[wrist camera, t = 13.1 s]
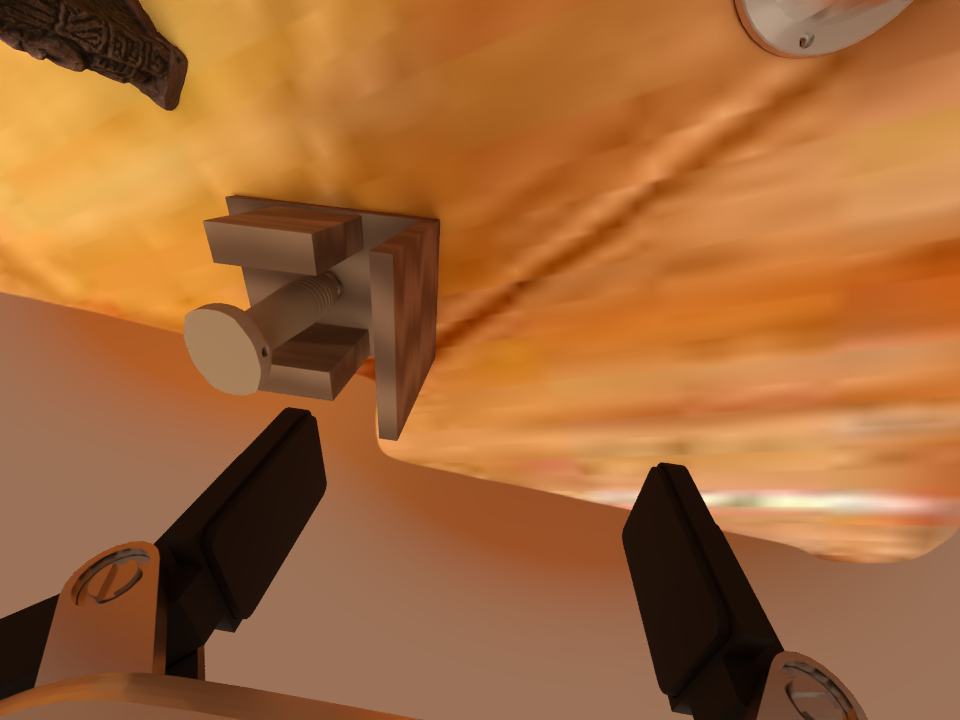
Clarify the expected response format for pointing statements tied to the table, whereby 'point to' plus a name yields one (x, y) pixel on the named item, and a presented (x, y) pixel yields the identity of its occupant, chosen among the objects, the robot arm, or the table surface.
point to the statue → (98, 42)
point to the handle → (254, 332)
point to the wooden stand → (342, 294)
